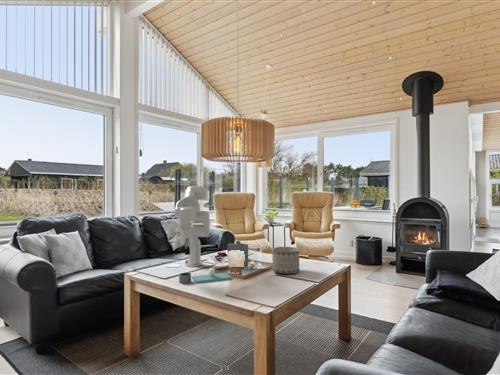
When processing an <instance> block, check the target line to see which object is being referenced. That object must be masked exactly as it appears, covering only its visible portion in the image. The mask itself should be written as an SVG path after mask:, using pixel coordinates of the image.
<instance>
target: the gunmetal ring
mask: <svg viewBox="0 0 500 375" xmlns="http://www.w3.org/2000/svg"><path fill="white" fill-rule="evenodd" d="M178 280H179V281H178V283H179V284H181V283H182V284H181V285H183V284H190V283H191V282H192V274H191V272H181V273H179V274H178Z"/></svg>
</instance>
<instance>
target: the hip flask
mask: <svg viewBox="0 0 500 375" xmlns="http://www.w3.org/2000/svg"><path fill="white" fill-rule="evenodd" d="M231 250H240V251H244V254H245V262H244V267H248V268H249V243H244V242H243V243H241V240H235V243H227V253H228V252H229V251H231ZM244 267H243V268H244Z"/></svg>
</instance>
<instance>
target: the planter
mask: <svg viewBox="0 0 500 375" xmlns="http://www.w3.org/2000/svg"><path fill="white" fill-rule="evenodd" d="M271 251H272V252H271V254H272V257H271V258H272V268H271V269H272V271H273V272H275V273H278V274H282V273H283V275H290V274H289V273H291V274H296V273H299V271H300V249H299V248H297V247H293V246H277V247H274V248H272V250H271Z"/></svg>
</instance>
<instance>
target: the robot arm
mask: <svg viewBox="0 0 500 375" xmlns="http://www.w3.org/2000/svg"><path fill="white" fill-rule="evenodd" d="M208 196H209V195H208V189H207V188H206V187H205V186H203V185H191V186H188V187H187V188H186V189H185V191H184V197H183V198H181V199H180V200H179V201H177V202H176V204H175V208H174V217H175V218H176V219H179V230H180V240H179V242H180V244H181V252H182V253H184V255H185V256H187V255H188V256H187V257H188V258H187V259H188V261H187V263H186V264H185V265H186V267H191V268H196V267H201V266H203V262H202V260H201V259H202V258H201V256H202V254H201V250H202V249H201V244H202V243H201V240H200V239H199V238H205V237H206V238H207V237H209V236H210V230H211V228H210V226H211V225H210V219H211V218H210V213H209V211H207V210H201V204H200V202H199V201H203V200H207V199H208Z"/></svg>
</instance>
